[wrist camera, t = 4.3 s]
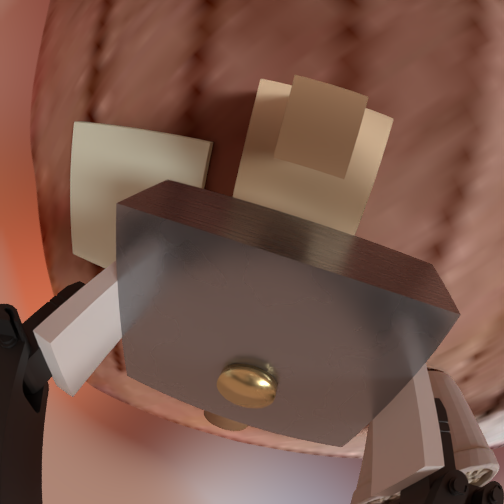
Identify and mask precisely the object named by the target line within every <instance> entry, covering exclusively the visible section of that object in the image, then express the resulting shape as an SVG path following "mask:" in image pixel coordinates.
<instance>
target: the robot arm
mask: <svg viewBox="0 0 504 504" xmlns="http://www.w3.org/2000/svg"><path fill="white" fill-rule="evenodd" d="M121 338H122V331H121V322H120V311H119V298H118V282H117V269H116V261H115V262H113V263H112V264H111V265H109V266H108V267H107V268H106V269H104V270H103V271H102V272H101V273H99V274H98V275H97V276H96V277H94V278H93V279H92V280H91V281H89V282H88V283H87V284H84V283H82V282H80V281H79V282H77V283H74V284H71V285H69V286H67V287H66V288H64V289H63V290H62V291H61V292H59V293H58V294H57V296H54V297H53V298H52V299H51V300H50V302H47V303H46V304H45V305H44V306H42V307H41V308H40V309H39V310H38V311H37V312H35V313H34V314H33V315H32V316H31V317H30V318H28V320H26V321H25V322H24V323H23V324H22V323H21V320H20V318H19V315H18V312H17V309H15V308H14V307H13V306H12V305H9V304H0V504H42V446H43V431H44V422H45V412H46V405H47V397H48V391H49V385H48V382H47V381H48V380H49V379H50V378H51V377H53V379H54V381H55V383H56V385H57V386H58V387H59V388H61V389H62V390H63V391H65V392H66V393H68V394H69V395H71V396H72V397H73V396H74V395H75V394H76V393H77V391H78V390H79V389H80V388H81V386H82V385H83V384H84V383H85V381H86V380H87V379H88V378H89V376H90V375H91V374H92V373H93V371H94V370H95V369H96V368H97V367H98V365H99V364H100V363H101V362H102V360H103V359H104V358H105V357H106V356H107V354H108V353H109V352H110V351H111V350H112V348H113V347H114V346H115V345H116V344H117V343H118V341H119V340H120V339H121ZM449 432H450V428H449V424H448V417H447V412H446V409H445V407H444V405H443V403H442V402H441V400H440V398H434V396H433V392H432V387H431V383H430V379H429V375H428V371H427V367H426V363H425V364H424V365H423V366H422V368H421V369H420V370H419V371H418V372H417V374H416V375H415V376H414V377H413V378H412V379H411V380H410V381H409V382H408V383H407V385H406V386H405V387H404V388H403V389H402V390H401V391H400V392H399V393H398V394H397V395H396V397H395V398H394V399H393V400H392V401H391V402H390V403H389V404H388V405H387V406H386V407H385V408H384V409H383V410H382V411H381V412H380V413H379V414H378V415H377V416H376V417H375V418H374V419H373V461H372V485H371V496H383V497H389V496H391V495H394V494H396V493H398V492H400V498H399V499H397V500H394V501H392V502H390V503H388V504H503V500H504V493H503V489H502V486H501V485H500V484H499V483H498V482H496V481H492V482H490V483H488V484H486V485H484V486H483V487H479V486H475V485H472V484H469V483H468V479H467V477H466V475H465V474H464V473H463V472H462V471H460V470H457V469H456V466H455V459H454V452H453V445H452V439H451V433H449Z"/></svg>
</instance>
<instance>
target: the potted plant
mask: <svg viewBox="0 0 504 504" xmlns="http://www.w3.org/2000/svg"><path fill="white" fill-rule="evenodd" d="M428 375H429V379H430V383H431V387H432V392H433V396H434V398H440V400H441V402H442V403H443V405H444V407H445V409H446V412H447V417H448V424H449V428H450V432H449V433H451V439H452V445H453V452H454V459H455V466H456V469H457V470H460V471H462V472H463V473H464V474H465V475H466V477H467V479H468V483H469V484H472V485H475V486H479V487H482V486H484V485H485V484H487V483H488V482H489V481H490V480H491V479H492V478H493V477H494V476H495V475H496V473H497V472H498V470H499V464H498V462H497V460H496V457H495V455H494V453H493V451H492V450H490V448H489V446H488V444H487V442H486V439H485V437H484V435H483V433H482V431H481V429H480V427H479V425H478V423H477V421H476V419H475V417H474V415H473V413H472V411H471V409H470V407H469V405H468V403H467V402H466V400H465V398H464V396H463V394H462V392H461V391H460V389H459V387H458V386H457V384H456V383H455V382H454V380H453V379H452V378H451V377H450V376H449V375H448V374H446V373H443V372H440V371H428ZM372 461H373V420H372V421H371V422H370V423H369V427H368V433H367V439H366V445H365V450H364V456H363V461H362V466H361V471H360V475H359V480H358V484H357V489H356V490H355V491H354V493H353V497H352V500H351V504H388V503H390V502H392V501H394V500H397V499H399V498H400V492H398V493H396V494H394V495H391V496H389V497H383V496H371V485H372Z"/></svg>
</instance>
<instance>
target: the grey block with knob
mask: <svg viewBox="0 0 504 504" xmlns="http://www.w3.org/2000/svg"><path fill="white" fill-rule="evenodd" d="M116 269H117V282H118V298H119V311H120V322H121V331H122V342H123V350H124V357H125V364H126V370H127V376H129V377H131V378H133V379H135V380H137V381H139V382H141V383H143V384H145V385H147V386H149V387H151V388H153V389H155V390H158V391H160V392H162V393H164V394H166V395H169V396H171V397H173V398H176V399H178V400H180V401H183V402H185V403H187V404H190V405H192V406H195V407H197V408H200V409H203V410H205V411H208V412H211V413H213V414H216V415H219V416H222V417H225V418H227V419H230V420H233V421H236V422H239V423H243V424H246V425H249V426H252V427H256V428H259V429H263V430H266V431H270V432H273V433H277V434H281V435H285V436H289V437H293V438H297V439H302V440H306V441H311V442H316V443H321V444H326V445H332V446H338V447H343V446H344V445H345V444H346V443H348V442H349V441H350V440H351V439H352V438H353V437H355V436H356V435H357V434H358V433H359V432H360V431H361V430H362V429H363V428H365V427H366V426H367V425H368V424H369V423H370V422H371V421H372V420H373V419H374V418H375V417H376V416H377V415H378V414H379V413H380V412H381V411H382V410H383V409H384V408H385V407H386V406H387V405H388V404H389V403H390V402H391V401H392V400H393V399H394V398H395V397H396V395H397V394H398V393H399V392H400V391H401V390H402V389H403V388H404V387H405V386H406V385H407V383H408V382H409V381H410V380H411V379H412V378H413V377H414V376H415V375H416V374H417V372H418V371H419V370H420V369H421V368H422V366H423V365H424V364H425V363H426V361H427V360H428V359H429V358H430V356H431V355H432V354H433V353H434V351H435V350H436V349H437V347H438V346H439V345H440V343H441V342H442V341H443V339H444V338H445V337H446V335H447V334H448V332H449V331H450V329H451V328H452V327H453V325H454V324H455V322H456V321H457V319H458V318H459V316H460V313H459V311H458V309H457V307H456V305H455V303H454V301H453V299H452V298H451V296H450V294H449V292H448V290H447V289H446V287H445V285H444V283H443V282H442V280H441V278H440V277H439V275H438V273H437V272H436V270H435V268H434V267H433V265H432V264H430V263H427V262H424V261H422V260H419V259H417V258H414V257H411V256H409V255H406V254H403V253H401V252H398V251H395V250H393V249H390V248H387V247H385V246H382V245H379V244H376V243H373V242H371V241H368V240H365V239H362V238H359V237H356V236H354V235H351V234H348V233H345V232H342V231H339V230H336V229H333V228H330V227H327V226H324V225H321V224H318V223H315V222H312V221H309V220H306V219H303V218H300V217H297V216H293V215H290V214H287V213H284V212H281V211H277V210H274V209H271V208H268V207H264V206H261V205H258V204H254V203H251V202H248V201H244V200H241V199H238V198H234V197H231V196H227V195H224V194H220V193H217V192H213V191H209V190H206V189H202V188H199V187H195V186H191V185H187V184H184V183H180V182H176V181H172V180H165V181H163V182H161V183H158V184H156V185H154V186H152V187H150V188H147V189H145V190H143V191H141V192H139V193H137V194H135V195H132V196H130V197H128V198H126V199H124V200H122V201H120V202H118V203H116Z"/></svg>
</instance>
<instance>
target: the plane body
mask: <svg viewBox="0 0 504 504" xmlns="http://www.w3.org/2000/svg"><path fill="white" fill-rule="evenodd" d="M367 101H368V97H367V96H364V95H361V94H359V93H356V92H353V91H350V90H347V89H344V88H341V87H337V86H334V85H331V84H328V83H324V82H321V81H317V80H313V79H310V78H306V77H302V76H298V75H295V76H294V80H293V84H292V85H287V84H283V83H279V82H274V81H270V80H265V79H261V80H260V84H259V87H258V91H257V95H256V99H255V103H254V107H253V111H252V115H251V119H250V124H249V128H248V132H247V136H246V140H245V144H244V149H243V153H242V157H241V162H240V166H239V170H238V175H237V179H236V184H235V188H234V193H233V197H234V198H238V199H241V200H244V201H248V202H251V203H254V204H258V205H261V206H264V207H268V208H271V209H274V210H277V211H281V212H284V213H287V214H290V215H293V216H297V217H300V218H303V219H306V220H309V221H312V222H315V223H318V224H321V225H324V226H327V227H330V228H333V229H336V230H339V231H342V232H345V233H348V234H351V235H355V233H356V230H357V228H358V225H359V222H360V220H361V217H362V214H363V212H364V209H365V206H366V203H367V201H368V198H369V195H370V192H371V189H372V186H373V184H374V181H375V178H376V175H377V172H378V169H379V166H380V162H381V159H382V156H383V153H384V150H385V146H386V143H387V140H388V136H389V133H390V130H391V126H392V123H393V118H390V117H388V116H385V115H383V114H380V113H378V112H375V111H372V110H370V109H367V108H366V104H367ZM204 416H205V418H206V419H207V420H208V421H209V422H210V423H212V424H213V425H215V426H217V427H219V428H222V429H225V430H230V431H240V430H243V429H245V428H246V427H247V426H248V425H246V424H243V423H239V422H236V421H233V420H230V419H227V418H225V417H222V416H219V415H216V414H213V413H211V412H208V411H204Z"/></svg>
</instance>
